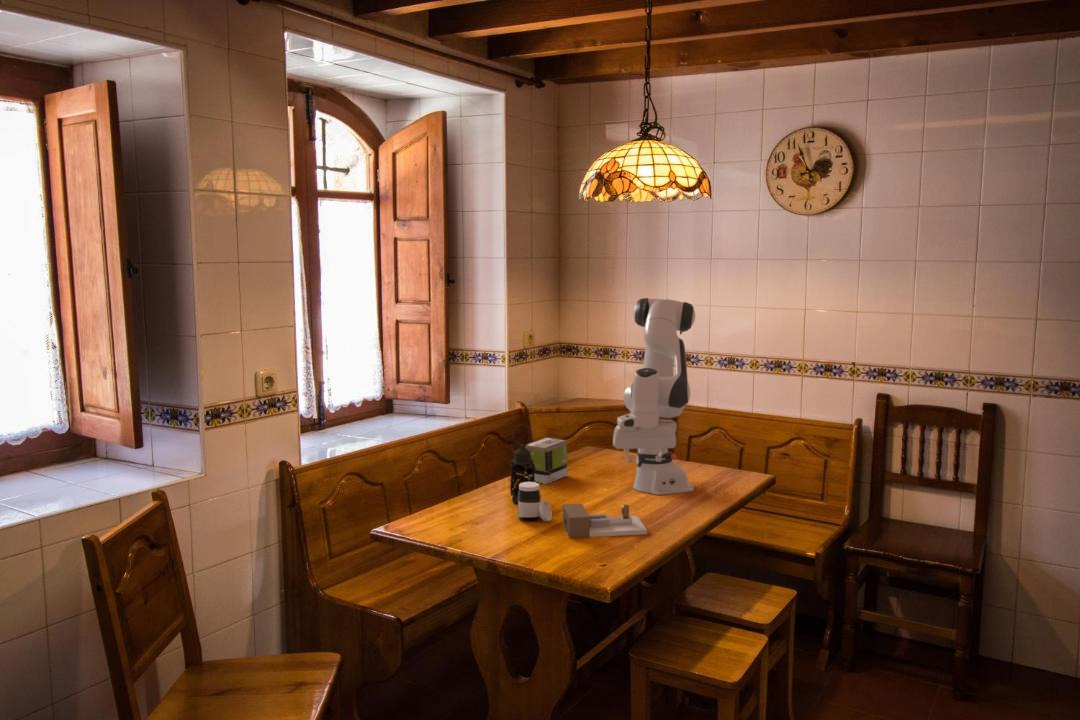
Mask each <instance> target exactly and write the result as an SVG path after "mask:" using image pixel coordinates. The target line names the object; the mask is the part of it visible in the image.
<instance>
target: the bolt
mask: <svg viewBox="0 0 1080 720" xmlns="http://www.w3.org/2000/svg"><path fill="white" fill-rule="evenodd" d="M631 516H632V515H630V505H629V504H622V505H621V516H606V517H602V518H600V519H609V525H621V524H632V518H631Z"/></svg>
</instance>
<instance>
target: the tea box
mask: <svg viewBox="0 0 1080 720" xmlns="http://www.w3.org/2000/svg"><path fill="white" fill-rule="evenodd" d="M527 444H528V443H527ZM524 445H525V446H524V447H525V448H526V449H527V450H529V451H531V453H530V454H531V459H532V460H534V461H533V463H534V464H535V468H536V469H535V482H539V484H540V483H543V484H542V485H548V484H550V483H553V482H555V481H557V480H560V479H561V478H565V477H567V476H568V454H567V451H568V449H567V440H565V439H558V438H550V437H543V438H542V439H539V440H535V441H533V442H532V441H531V442H530V443H529V444H528V445H526V444H524ZM526 473H527V471H526V472H525V474H526ZM532 473H533V471H532ZM529 476H531V477H532V475H529ZM525 478H528V476H527V477H526V476H525ZM529 479H530V478H529ZM529 479H528V480H529ZM552 481H553V482H552ZM547 483H548V484H547Z"/></svg>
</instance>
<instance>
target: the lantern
mask: <svg viewBox="0 0 1080 720" xmlns="http://www.w3.org/2000/svg"><path fill="white" fill-rule="evenodd" d="M519 426H522V427H523V426H524V427H526V428H528V429H529V431H530V433H531V435H533V431H532V429H531V428H530V427H529V426H527V425H525V424H519V425H516V426H515V427H514V428H513V430H512V432H511V433H512V439H513V441H514V443H516V445H519V446H520V447H519V448H518V449H516V450H515V451H513V454H514V456H513V458H512V459H510V460H509V468H510V488H509V491H510V493H509V494H510V496H511V501H513V504H515V503H518V492H519V490H520V489H519V484H520V483H523V482H535V469H536V468H535V464H534V463H533V461H534V460H532V459H531V454H530V453H531V451H529V450H527V449H526V448H525V445H528V444H530V443H532V440H533V437H531V439H530V441H529V442H528V443H526V444H523V443H522V444H520V443H518V442H517V441H516V440H515V438H514V432H515V430H516V428H518V427H519ZM526 471H527V473H526ZM532 471H533V473H532ZM529 475H532V477H531V476H529ZM527 476H528V478H526V477H527ZM529 478H530V479H529ZM528 479H529V480H528Z"/></svg>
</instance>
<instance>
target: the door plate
mask: <svg viewBox="0 0 1080 720" xmlns="http://www.w3.org/2000/svg"><path fill="white" fill-rule="evenodd" d="M630 516H631V518H632V524H621V525H609V519H600V518H602V517H607V514H606V513H599V514H593V513H592V514H589V513H588V512H587V509H586V507H585V506H584V504H583V503H566V504H565V503H564V504H563V503H562V525H563V528H564V530H565V532H566V534H567V535H568V536H567V537H568V538H569V539H570V538H571V539H572V538H575V539H576V538H592V537H593V538H597V537H615V536H616V537H617V536H638V535H639V536H640V535H641V536H642V535H647V534H648V529H647V527H645V525H644V523H643V522H642V521H641V520H640V518H639V517H638V515H630Z"/></svg>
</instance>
